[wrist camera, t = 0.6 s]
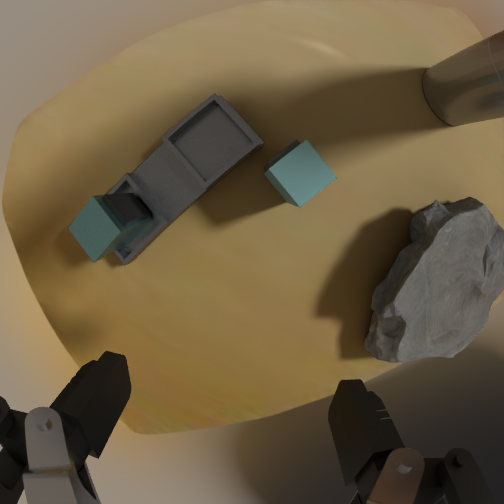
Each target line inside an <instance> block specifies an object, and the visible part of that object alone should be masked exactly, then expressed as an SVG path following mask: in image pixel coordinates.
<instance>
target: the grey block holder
mask: <svg viewBox="0 0 504 504" xmlns="http://www.w3.org/2000/svg"><path fill="white" fill-rule="evenodd" d="M161 139H162V140H163V142H164V143H163V144H162V145H160V146H159V147H158V148H157V149H156V150H155V151H154V152H153V153H152V154H151V155H150V156H149V157H148V158H147V159H146V160H145V161H144V162H143V163H142V164H141V165H140V166H139V167H138V168H137V169H136V170H135V171H134V172H133V173H126V174H125V175H124V176H123V177H122V178H121V179H120V180H119V181H118V183H117V184H116V185H115V186H114V187H113V188H112V189H111V190H110V192H109V193H108V194H107V195H98V196H93V197H92V198H91V199H90V200H89V201H88V203H87V204H86V205H85V207H84V208H83V209H82V210H81V212H80V213H79V214H78V216H77V217H76V218H75V220H74V221H73V222H72V224H71V225H70V226H69V228H68V229H69V230H70V232H71V233H72V234H73V236H74V237H75V239H76V240H77V241H78V243H79V244H80V245H81V247H82V248H83V249H84V251H85V252H86V253H87V255H88V256H89V257H90V258H91V260H92V261H93V262H96V261H98V260H100V259H102V258H103V257H105V256H107V255H109V254H111V253H113V252H114V253H115V255H116V256H117V257H118V258H119V259H120V261H121V262H122V263H123V264H124V265H126V264H127V265H128V264H129V263H131V262H132V261H134V260H135V259H136V258H137V257H138V256H139V255H140V254H141V253H142V252H143V251H144V250H145V249H146V248H147V247H148V246H149V245H150V244H151V243H152V242H153V241H154V240H155V239H156V238H157V237H158V236H159V235H160V234H161V233H162V232H163V231H164V230H165V229H167V228H168V227H169V226H170V225H171V224H172V223H173V222H174V221H175V220H176V219H177V218H178V217H179V216H180V215H182V214H183V213H184V212H185V211H186V210H187V209H188V208H189V207H190V206H191V205H193V204H194V203H195V202H196V201H197V200H198V199H199V198H200V197H202V196H203V195H204V194H205V193H206V192H207V191H208V190H210V189H211V188H212V187H213V186H214V185H215V184H216V183H218V182H219V181H220V180H221V179H222V178H224V177H225V176H226V175H227V174H228V173H229V172H231V171H232V170H233V169H234V168H236V167H237V166H238V165H239V164H240V163H242V162H243V161H244V160H245V159H247V158H248V157H249V156H250V155H251V154H253V153H254V152H255V151H257V150H258V149H259V148H260V147H262V146H263V144H264V142H263V141H262V140H261V138H260V137H259V136H258V135H257V134H256V133H255V132H254V131H253V129H252V128H251V127H250V126H249V125H248V124H247V123H246V122H245V121H244V120H243V118H242V117H241V116H240V115H239V114H238V113H237V112H236V111H235V110H234V109H233V108H232V107H231V106H230V105H229V103H228V102H227V101H226V100H225V99H224V98H223V97H222V96H221V95H220V96H217V95H216V94H213V95H212V96H211V97H209V98H208V99H207V100H206V101H204V102H203V103H202V104H201V105H199V106H198V107H197V108H196V109H194V110H193V111H192V112H191V113H190V114H188V115H187V116H186V117H185V118H184V119H182V120H181V121H180V122H179V123H178V124H177V125H176V126H174V127H173V128H172V129H171V130H170V131H169V132H168V133H167V134H165V135H164V136H163V137H162V138H161Z"/></svg>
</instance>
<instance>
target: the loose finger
mask: <svg viewBox="0 0 504 504" xmlns="http://www.w3.org/2000/svg"><path fill="white" fill-rule="evenodd" d="M264 168H265V169H266V172H265V173H264V175H265V176H266V178H267V179H268V180H269V181H270V182H271V184H272V185H273V186H274V187H275V188H276V190H277V191H278V192H279V193H280V195H281V196H282V197H283V198H284V199H285V201H286V202H287V203H290V204H292V205H295V206H297V207H301V206H303V205H304V204H305V203H306V202H308V201H309V200H310V199H311V198H313V197H314V196H315V195H316V194H318V193H319V192H320V191H321V190H322V189H324V188H325V187H326V186H327V185H329V184H330V183H331V182H332V181H334V180H335V179H336V176H335V175H334V174H333V172H332V171H331V170H330V168H329V167H328V166H327V164H326V163H325V162H324V160H323V159H322V158H321V157H320V155H319V154H318V153H317V152H316V150H315V149H314V148H313V147H312V145H311V144H310V143H309V142H308V141H307V139H306V140H305V141H304V142H303V143H301V144H300V143H299V142H298V140H296V141H294V142H293V143H292V144H290V145H289V146H288V147H286V148H285V149H284V150H283V151H281V152H280V153H279V154H277V155H276V156H275V157H274V158H272V159H271V160H270V161H269V162H268V163H267V164H266V165H265V167H264Z"/></svg>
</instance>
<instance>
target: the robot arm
mask: <svg viewBox="0 0 504 504" xmlns="http://www.w3.org/2000/svg"><path fill="white" fill-rule="evenodd" d="M422 83H423V90H424V94H425V97H426V99H427V101H428V103H429V105H430V107H431V108H432V110H433V111H434V112H435V114H436V115H437V116H438V117H439V118H440V119H441V120H442V121H444V122H445V123H447V124H449V125H452V126H459V125H464V124H469V123H474V122H480V121H485V120H490V119H496V118H502V117H504V30H503V31H501V32H499V33H497V34H494V35H492V36H491V37H488V38H486V39H484V40H482V41H480V42H478V43H476V44H474V45H472V46H470V47H468V48H466V49H464V50H462V51H460V52H458V53H456V54H455V55H453V56H451V57H449V58H447V59H445V60H443V61H441V62H440V63H438V64H436V65H434V66H432V67H431V68H429V69H427V70H426V72H425V73H424V76H423V82H422ZM130 394H131V382H130V377H129V371H128V365H127V360H126V357H125V356H124V355H121V354H117V353H113V352H109V351H105V352H104V353H103V354H102V356H101V357H100V358H99V359H98V361H95V360H92V361H90V362H88V363H87V364H85V365H83V366H82V367H81V368H80V370H79V371H78V372H77V373H76V376H74V377H73V378H72V379H71V381H70V383H68V384H67V385H66V387H65V388H64V389H63V390H62V392H61V393H60V394H59V396H58V397H57V398H56V399H55V401H54V402H53V403H52V404H51V406H50V407H49V408H48V407H38V408H35V409H33V410H32V411H30V412H29V413H25V412H20V411H16V410H12V409H10V407H9V405H8V404H7V402H6V400H5V399H4V398H2V397H1V396H0V444H1V446H2V447H3V449H2V450H1V452H0V504H17V502H18V500H19V498H20V496H21V494H22V491H23V490H24V489H25V494H26V498H27V503H28V504H101V502H100V500H99V497H98V495H97V492H96V490H95V487H94V484H93V482H92V479H91V476H90V473H89V470H88V467H87V464H86V462H85V460H86V458H87V457H88V455H91V456H93V457H95V458H98V459H99V457H100V455H101V453H102V451H103V449H104V447H105V445H106V443H107V441H108V438H109V437H110V435H111V433H112V431H113V429H114V427H115V425H116V423H117V421H118V419H119V417H120V415H121V413H122V412H123V410H124V408H125V406H126V404H127V402H128V400H129V398H130ZM328 421H329V424H330V429H331V432H332V436H333V440H334V443H335V447H336V451H337V455H338V459H339V462H340V466H341V470H342V474H343V478H344V482H345V486H346V487H350V486H356V485H357V489H358V492H357V493H356V494H355V496H354V497H353V499H352V501H351V502H350V504H445V502H444V499H443V497H445V496H446V498H447V501H448V503H449V504H496V501H495V499H494V497H493V495H492V493H491V491H490V488H489V486H488V484H487V482H486V480H485V478H484V476H483V474H482V472H481V470H480V468H479V467H478V465H477V463H476V461H475V459H474V457H473V456H472V454H471V453H470V452H469V451H467V450H465V449H462V448H454V449H452V450H450V451H449V452H448V453H447V454H446V455H445V456H444V457H443V458H423V457H422V456H421V455H420V453H418V452H417V451H415V450H413V449H410V448H405V446H404V444H403V442H402V440H401V438H400V436H399V434H398V432H397V430H396V428H395V426H394V424H393V422H392V420H391V419H390V416H389V414H388V412H387V411H386V408H385V406H384V404H383V402H382V400H381V399H380V398H379V397H378V396H377V395H376V394H375V393H374V392H372V391H369V392H367V390H366V387H365V385H364V383H363V382H362V380H360V379H355V380H341V381H340V382H339V385H338V387H337V390H336V392H335V395H334V397H333V400H332V402H331V405H330V407H329V412H328Z"/></svg>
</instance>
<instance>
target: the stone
mask: <svg viewBox="0 0 504 504" xmlns="http://www.w3.org/2000/svg"><path fill="white" fill-rule="evenodd" d="M410 231H411V240H412V242H413V243H411V244H410V245H408V246H407V247H405V248H404V249H403V250H402V251H400V252H399V255H398V257H397V259H396V260H395V262H394V264H393V265H392V267H391V268H390V271H389V273H388V275H387V277H386V278H385V279H384V280H383V281H382V282H381V283H380V284H379V285H378V286H377V287H376V288H375V290H374V291H373V294H372V305H371V309H373V310H374V312H373V315H372V317H371V323H370V327H369V333H368V335H367V337H366V338H365V340H364V347H365V350H366V351H368V352H369V353H370V354H371V355H372V356H374V357H376V358H377V359H378V360H384V361H388V362H406V361H409V360H417V359H422V358H426V357H441V356H443V357H446V358H453V356H454V355H455V354H457V353H458V352H460V351H462V350H463V349H464V348H465V347H466V346H467V345H468V344H469V343H470V342H471V341H472V340H473V339H474V338H475V337H476V336H477V335H478V334H479V332H480V331H481V329H482V328H483V326H484V325H485V323H486V322H487V320H488V314H489V310H490V307H491V305H492V303H493V301H494V300H496V299H497V297H498V296H499V295H500V294H501V292H502V290H503V289H504V230H503V229H502V228H501V227H500V225H499V224H498V222H496V221H495V219H494V217H493V215H492V214H491V213H490V211H489V210H488V209H487V207H486V206H485V205H484V204H483V203H481V202H480V201H478V200H477V199H474V198H472V197H468V198H465V199H462V200H459V201H456V202H454V203H450V204H446V205H443V204H441V203H439V202H438V201H437V200H435V201H434V202H433V203H432V204H431V205H428V206H427V207H426V208H425V209H424V210H423V211H421V212H419V213H418V214H415V215H414V217H413V218H412V220H411V223H410Z"/></svg>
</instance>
